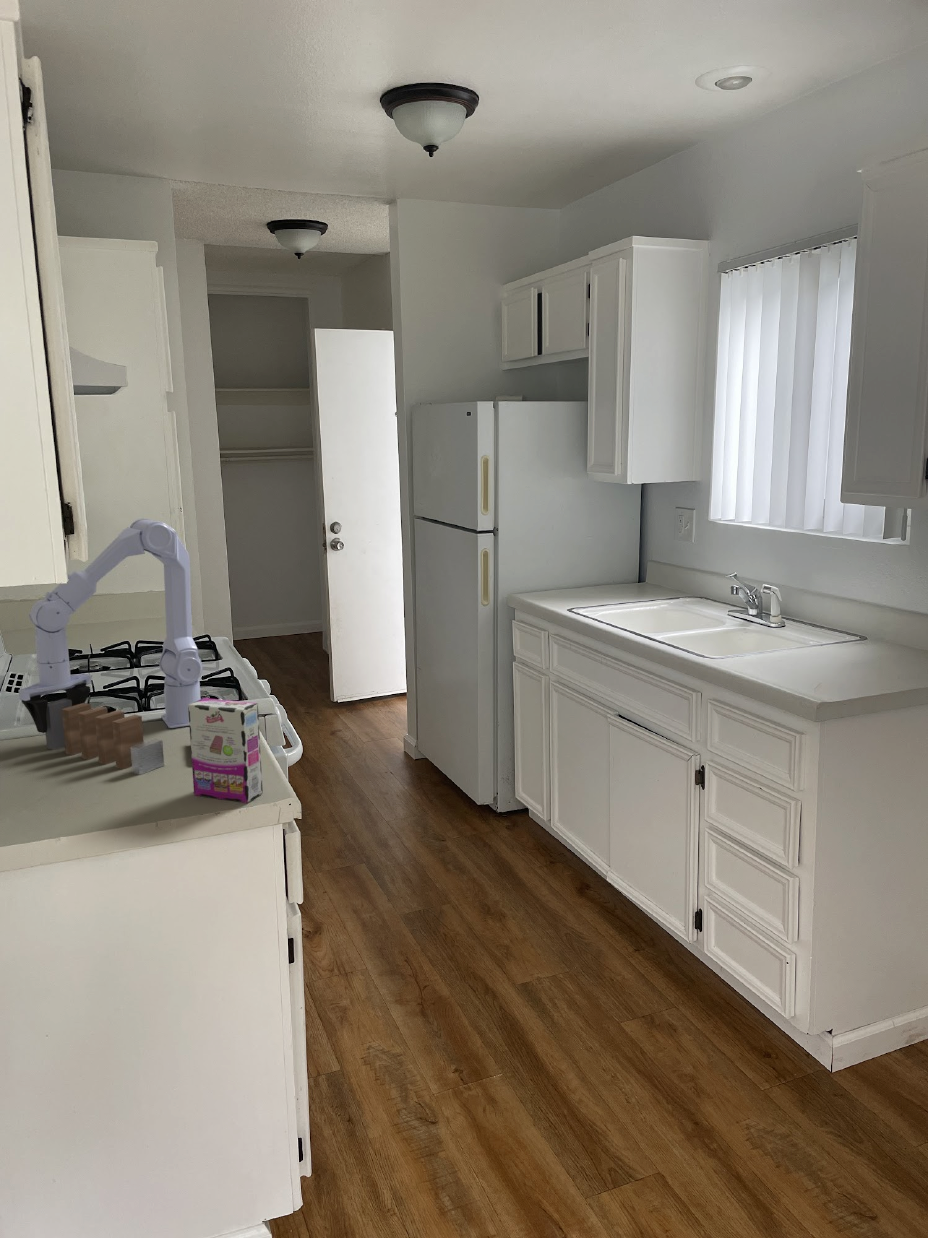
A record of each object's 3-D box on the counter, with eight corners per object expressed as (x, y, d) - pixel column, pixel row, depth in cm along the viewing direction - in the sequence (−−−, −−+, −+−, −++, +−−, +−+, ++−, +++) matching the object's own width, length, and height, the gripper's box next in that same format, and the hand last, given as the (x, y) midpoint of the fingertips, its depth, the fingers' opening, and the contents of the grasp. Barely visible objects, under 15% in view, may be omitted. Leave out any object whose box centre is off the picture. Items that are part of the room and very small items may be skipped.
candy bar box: (264, 793, 161) (259, 702, 158) (248, 804, 156) (243, 710, 153) (209, 785, 165) (204, 696, 161) (192, 795, 160) (186, 704, 157)
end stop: (132, 772, 171) (130, 747, 170) (157, 763, 176) (155, 738, 175) (139, 774, 170) (137, 748, 169) (164, 765, 174) (162, 740, 173)
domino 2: (65, 753, 182) (61, 709, 180) (88, 746, 186) (84, 702, 184) (72, 755, 180) (68, 710, 179) (94, 748, 185) (90, 704, 183)
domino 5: (116, 767, 174) (112, 721, 172) (138, 759, 178) (134, 714, 176) (123, 769, 173) (119, 723, 171) (145, 761, 177) (141, 716, 175)
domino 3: (82, 758, 179) (78, 713, 177) (104, 750, 183) (100, 706, 181) (88, 760, 178) (84, 714, 176) (110, 752, 182) (107, 708, 180)
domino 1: (46, 748, 185) (42, 704, 183) (69, 741, 189) (65, 698, 187) (53, 749, 184) (48, 706, 182) (75, 742, 188) (71, 699, 186)
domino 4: (98, 762, 176) (94, 717, 175) (120, 755, 180) (117, 710, 179) (105, 764, 175) (101, 718, 174) (127, 756, 179) (124, 712, 178)
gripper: (72, 650, 191) (78, 714, 194) (6, 665, 179) (13, 733, 181) (94, 654, 187) (100, 719, 190) (28, 670, 175) (35, 739, 178)
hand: (59, 726), depth 185 cm, fingers open, 7 cm apart
